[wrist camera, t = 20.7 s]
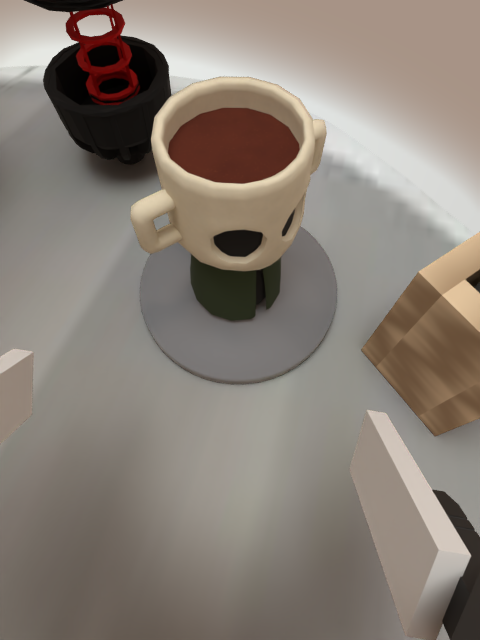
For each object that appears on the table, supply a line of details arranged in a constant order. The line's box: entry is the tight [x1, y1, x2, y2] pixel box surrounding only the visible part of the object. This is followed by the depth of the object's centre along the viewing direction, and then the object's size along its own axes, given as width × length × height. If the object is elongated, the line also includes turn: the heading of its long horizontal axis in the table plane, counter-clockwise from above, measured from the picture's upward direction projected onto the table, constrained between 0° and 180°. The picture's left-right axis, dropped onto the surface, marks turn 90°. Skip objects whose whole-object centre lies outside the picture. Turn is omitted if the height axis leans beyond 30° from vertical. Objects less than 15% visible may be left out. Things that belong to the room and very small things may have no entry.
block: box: [361, 232, 480, 436], centre depth 23 cm, size 7×7×10 cm
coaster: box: [140, 226, 337, 384], centre depth 30 cm, size 14×14×1 cm
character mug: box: [131, 77, 327, 321], centre depth 23 cm, size 11×7×13 cm, turn 123°
